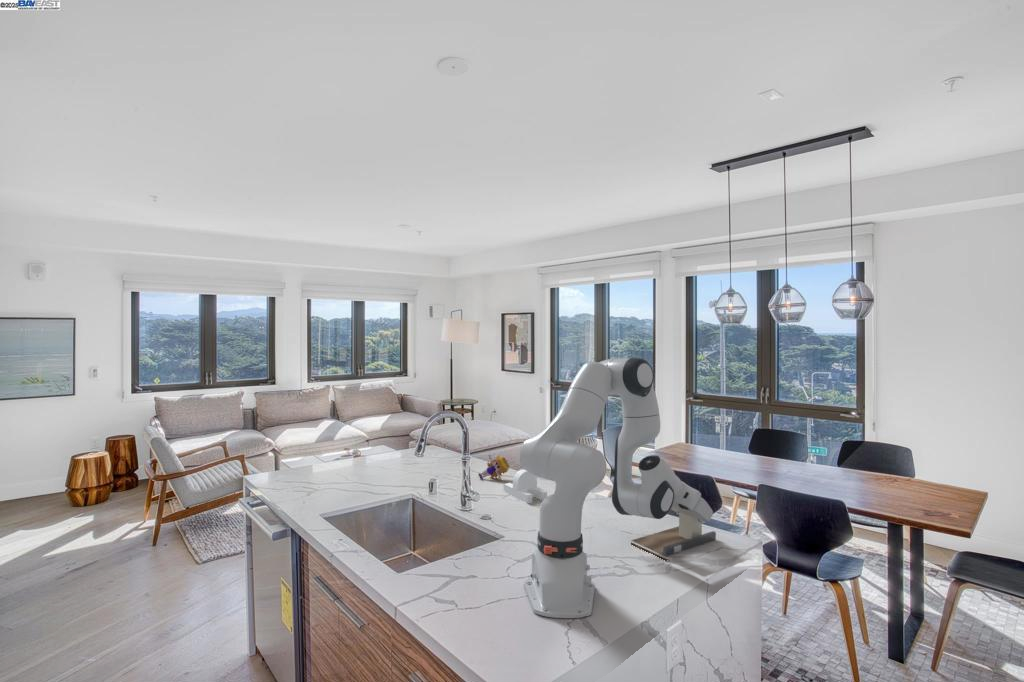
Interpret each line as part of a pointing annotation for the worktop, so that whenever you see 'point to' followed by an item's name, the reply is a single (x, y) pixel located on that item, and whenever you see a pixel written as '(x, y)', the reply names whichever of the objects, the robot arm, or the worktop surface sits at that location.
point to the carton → (689, 526)
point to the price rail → (689, 543)
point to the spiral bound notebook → (659, 541)
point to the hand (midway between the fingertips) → (691, 517)
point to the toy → (495, 468)
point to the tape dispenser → (525, 487)
